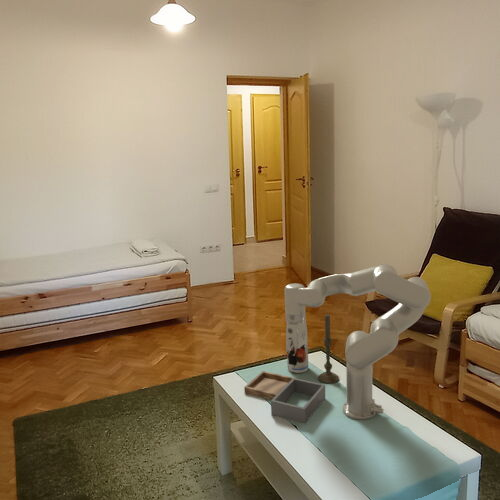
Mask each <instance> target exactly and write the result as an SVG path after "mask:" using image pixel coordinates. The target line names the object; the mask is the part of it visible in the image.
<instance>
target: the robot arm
mask: <svg viewBox="0 0 500 500" xmlns="http://www.w3.org/2000/svg"><path fill="white" fill-rule="evenodd" d="M430 291H431V290H430V289H429V286H428V283H427V282H426V281H425V280H424V279H423V278H422V277H419V276H413V277H410V278H408V279H406V278H404V277H402V276H400V275H399V274H398V272H397V270H396V269H395V267H393V265H390V264H388V263H387V264H386V263H384V264H380V265H379V264H378V265H376V266H371V267H369V268H364V269H361V270H357V271H353V272H349V273H340V274H339V273H338V274H332V275H328V276H324V277H319V278H316V279H313V280H311V282H310V283H308V285H307V287H305V286H304V285H303V284H301V283H289V284H287V285H286V286H285V287H284V307H285V308H284V310H285V313H284V314H285V322H286V330H285V341H286V343H285V344H286V345H287V347H286V346H285V351H286V354H287V353H288V360H289V364H291V365H297V355H296V349H299V348H300V347H302V348H303V349H304V350H305V343H306V342H307V343H308V338H309V337H308V326H307V319H306V314H307V313H306V307H310V308H319V307H320V306H322V305H323V304H324V302H325V299H326V297H328V296H332V295H336V294H347V295H349V296H353V297H359V296H361V295H365V294H369V293H373V292H378V293H379V294H380V295H382V296H384V297H385V298H388V299H390V300H392V301H394V302H396V303H398V304H397V305H395V306H394V307H393V308H392V309H390V310H388V311H387V312H386V313H384V314H382V315H380V316H379V317H378V318H375V319H374V320H373V321H372V322H371V324H370V329H369V331H370V332H369V333H367V332H365V331H363V330H356V331H353V332H351V333H350V334H349V335H348V336H347V339H346V342H345V350H344V352H345V355H344V356H345V361H346V402H345V403H343V404H342V412H343V414H345V416H347V417H349V418H352V419H353V420H369V419H372V418H373V417H375V416H376V415H377V414H380V415H383V414H384V408H383V405H381V404H377V403H375V402H376V401H375V399H374V398H373V374H374V373H373V365H374V363H376V362H378V361H379V360H381V359H383V358H384V357H386V356H387V355H389V354H390V353H392V352H393V351H394V350H395V349H396V347H397V346H398V344H399V336H400V334H401V333H403V332H404V331H405V330H407V329H408V328H410V327H412V326H413V325H414V324H416V323H417V322H418V321H419V319H421V317H422V315H424V312H425V311H426V308H427V307H428V306H429V305H430V303H431V300H432V295H431V292H430ZM292 345H293V346H294V347H291V346H292ZM291 348H292V349H294V351H292V350H291Z"/></svg>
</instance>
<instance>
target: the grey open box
mask: <svg viewBox="0 0 500 500" xmlns="http://www.w3.org/2000/svg"><path fill="white" fill-rule="evenodd" d="M292 378H293V379H292V380H291V381H290V382H289V383H288V384H287V385H286V386H285V387H284V388H283V389H282V390H281V391H280V392H279V393H278V394H277V395H276V396H275V397H274V398H273V399H272V400H271V399H270V412H271V413H270V414H271V416H273V417H278V418H281V419H285V420H289V421H293V422H295V423H300V424H304V425H306V424H307V423H308V421H309V420H310V419H311V418H312V417H313V415H314V414H315V412H317V410H318V409H319V407H320V406H321V405H322V404H323V403H324V401H325V400H326V384H324V383H318V382H313V381H308V380H305V379H299V378H296V377H292ZM295 394H299V395H303V396H307V397H311V398H310V399H309V400H308V401H307V403H306V404H304V406H298V405H295V404H291V403H288V401H289V400H290V399H291V398H292V397H293V396H294V395H295Z"/></svg>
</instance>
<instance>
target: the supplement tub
mask: <svg viewBox="0 0 500 500" xmlns="http://www.w3.org/2000/svg"><path fill="white" fill-rule="evenodd" d="M292 346H293V345H292ZM292 346H291V347H292ZM286 347H287V345H286V346H285V348H286ZM308 350H309V346H308V341H307V342H306V343H305V352H306V358H305V361H304V362H303V363H298V362H297V365H295V367H294V365H291V364H289V360H288V358H287V357H286V361H287V370H288V371H290V372H291V373H296V374H300V373H304V372H307V371H308V369H309V351H308Z"/></svg>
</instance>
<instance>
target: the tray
mask: <svg viewBox="0 0 500 500" xmlns="http://www.w3.org/2000/svg"><path fill="white" fill-rule="evenodd" d="M293 378H294V377H292V376H286V375H283V374H278V373H273V372H269V371H265V370H262V371H261V372H260V373H259V374H257V376H255V377H254V378H253V379H251V381H250V382H248V384H246V385H245V386H244V388H243V389H244V394H247V395H252V396H256V397H259V398H264V399H268V400H270V401H271V400H272V399H273V398H274V397H275V396H276V395H277V394H278V393H279V392H280V391H281V390H282V389H283V388H284V387H285V386H286V385H287V384H288V383H289V382H290V381H291V380H292V379H293Z"/></svg>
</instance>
